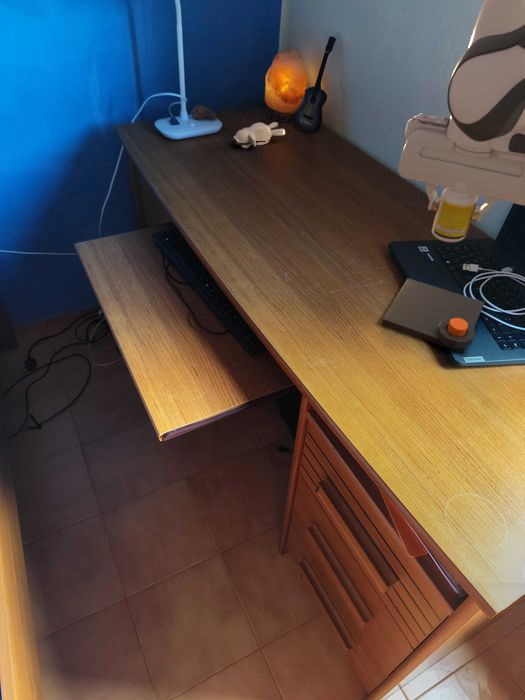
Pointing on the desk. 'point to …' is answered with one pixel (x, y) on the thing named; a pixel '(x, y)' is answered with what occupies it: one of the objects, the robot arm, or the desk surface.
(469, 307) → the scale
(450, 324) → the button
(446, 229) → the supplement bottle
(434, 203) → the robot arm
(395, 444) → the desk surface
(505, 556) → the desk surface
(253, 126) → the bunny figurine
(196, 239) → the desk surface
